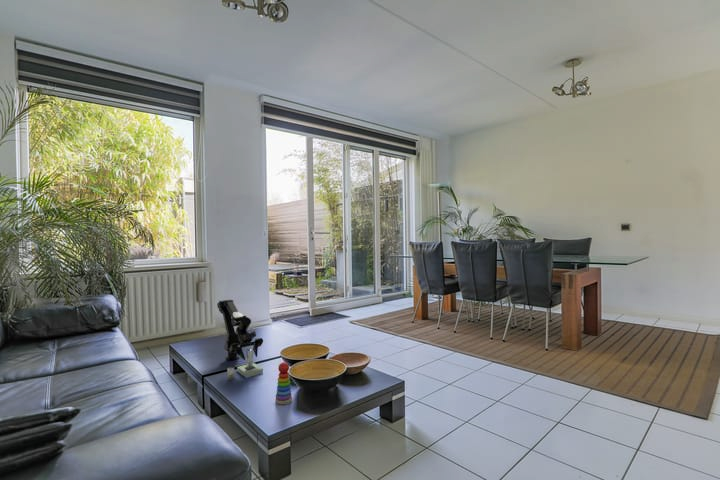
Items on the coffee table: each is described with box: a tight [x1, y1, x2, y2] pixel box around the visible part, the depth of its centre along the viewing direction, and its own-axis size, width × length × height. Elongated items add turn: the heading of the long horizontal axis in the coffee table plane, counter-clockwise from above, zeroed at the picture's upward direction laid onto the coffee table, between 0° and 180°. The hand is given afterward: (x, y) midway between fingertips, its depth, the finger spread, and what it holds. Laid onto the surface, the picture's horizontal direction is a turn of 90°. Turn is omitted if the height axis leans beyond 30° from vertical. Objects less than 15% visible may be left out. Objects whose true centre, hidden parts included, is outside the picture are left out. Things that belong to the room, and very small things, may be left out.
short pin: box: [226, 366, 235, 381], centre depth 201 cm, size 4×4×6 cm
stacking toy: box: [274, 361, 293, 406], centre depth 175 cm, size 8×8×19 cm
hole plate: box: [236, 362, 264, 379], centre depth 211 cm, size 12×10×2 cm
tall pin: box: [245, 348, 254, 370], centre depth 211 cm, size 4×4×13 cm
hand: (250, 358), depth 209 cm, fingers open, 7 cm apart
